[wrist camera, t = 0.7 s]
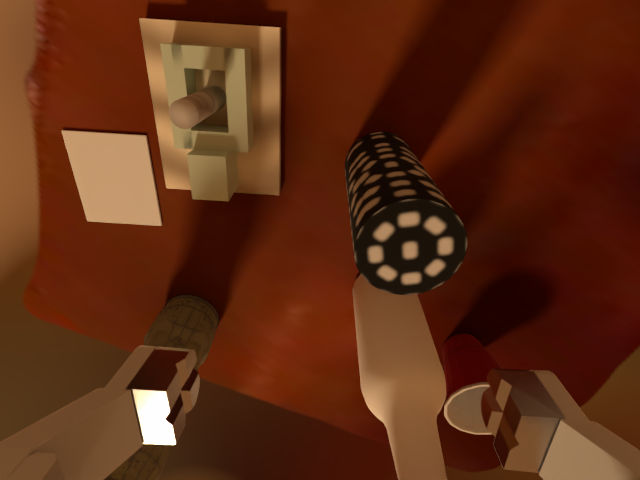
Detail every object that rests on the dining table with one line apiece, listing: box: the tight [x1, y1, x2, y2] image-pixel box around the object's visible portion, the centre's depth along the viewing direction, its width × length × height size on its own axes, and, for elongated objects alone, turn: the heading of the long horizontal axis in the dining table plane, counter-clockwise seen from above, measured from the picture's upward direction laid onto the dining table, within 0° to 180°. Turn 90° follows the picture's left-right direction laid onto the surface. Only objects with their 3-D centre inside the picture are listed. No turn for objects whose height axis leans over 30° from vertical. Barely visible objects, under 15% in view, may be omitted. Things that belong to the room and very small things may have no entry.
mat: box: [61, 130, 163, 226], centre depth 46 cm, size 12×10×1 cm
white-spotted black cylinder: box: [345, 132, 467, 295], centre depth 36 cm, size 8×8×20 cm
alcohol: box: [353, 274, 447, 480], centre depth 40 cm, size 9×9×30 cm
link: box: [160, 43, 254, 201], centre depth 39 cm, size 15×8×5 cm, turn 177°
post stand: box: [139, 18, 281, 195], centre depth 37 cm, size 18×14×12 cm
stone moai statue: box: [104, 295, 219, 480], centre depth 42 cm, size 9×12×35 cm
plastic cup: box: [443, 333, 500, 434], centre depth 54 cm, size 11×11×12 cm
